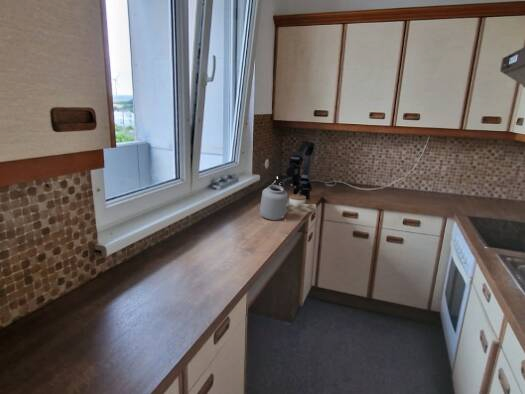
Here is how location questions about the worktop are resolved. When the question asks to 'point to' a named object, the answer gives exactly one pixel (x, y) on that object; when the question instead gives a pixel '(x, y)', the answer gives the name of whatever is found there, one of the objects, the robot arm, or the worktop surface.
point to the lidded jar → (297, 199)
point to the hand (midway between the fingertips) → (294, 197)
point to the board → (300, 208)
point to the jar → (273, 202)
